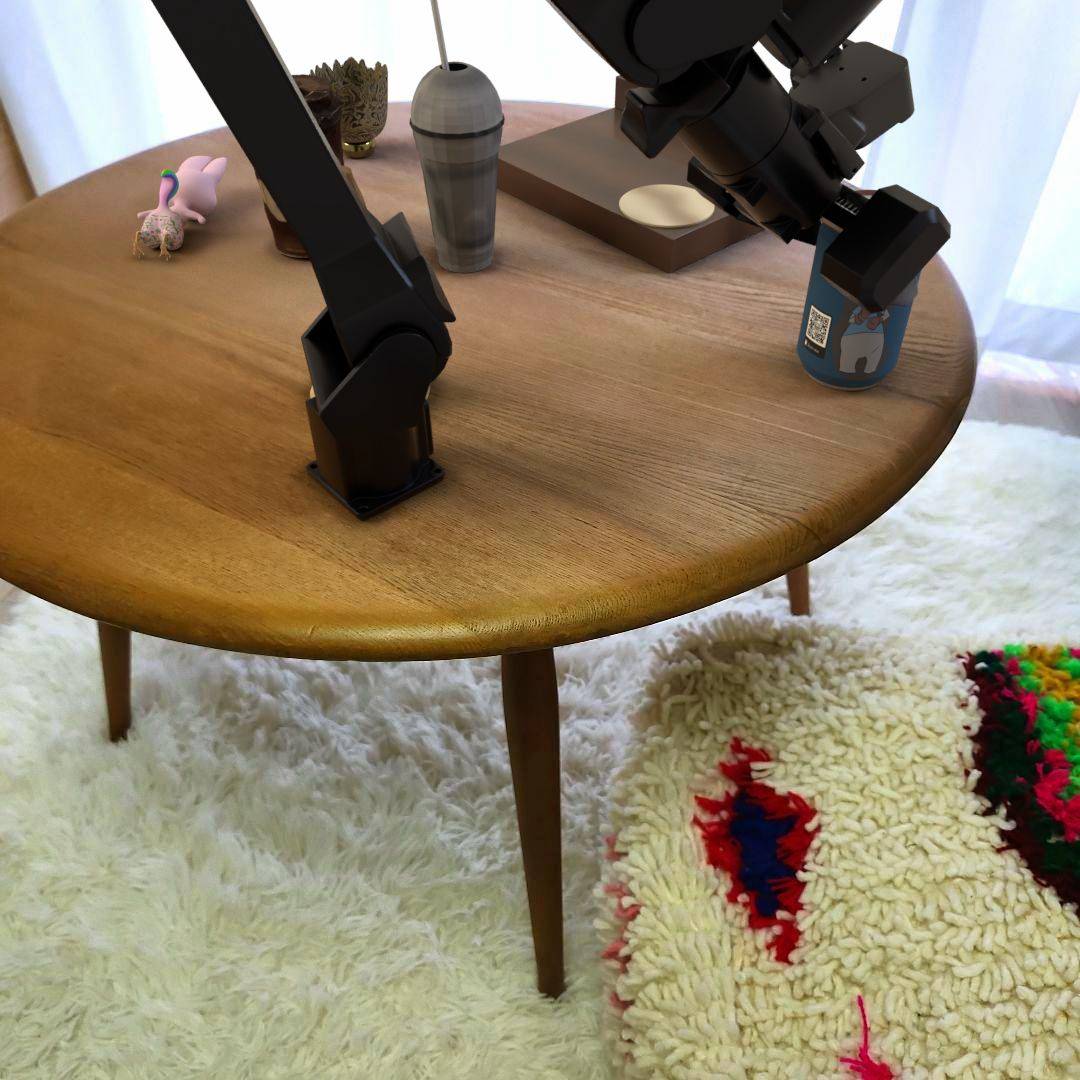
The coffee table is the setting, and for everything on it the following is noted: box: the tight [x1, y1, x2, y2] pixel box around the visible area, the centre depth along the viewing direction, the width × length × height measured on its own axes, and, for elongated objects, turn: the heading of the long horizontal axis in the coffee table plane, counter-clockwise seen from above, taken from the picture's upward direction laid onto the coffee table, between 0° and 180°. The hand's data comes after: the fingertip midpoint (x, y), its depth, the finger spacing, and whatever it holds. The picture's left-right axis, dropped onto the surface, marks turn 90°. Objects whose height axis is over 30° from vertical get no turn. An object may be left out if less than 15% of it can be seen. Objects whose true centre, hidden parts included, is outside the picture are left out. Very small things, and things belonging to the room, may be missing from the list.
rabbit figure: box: [131, 155, 228, 262], centre depth 89 cm, size 6×6×15 cm
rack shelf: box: [497, 74, 765, 274], centre depth 93 cm, size 18×24×6 cm
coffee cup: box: [253, 73, 345, 259], centre depth 84 cm, size 9×8×13 cm
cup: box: [308, 56, 389, 159], centre depth 100 cm, size 8×7×8 cm
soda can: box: [796, 189, 922, 392], centre depth 69 cm, size 7×7×12 cm
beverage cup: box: [408, 0, 506, 274], centre depth 79 cm, size 7×7×20 cm
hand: (863, 267), depth 68 cm, fingers open, 9 cm apart
